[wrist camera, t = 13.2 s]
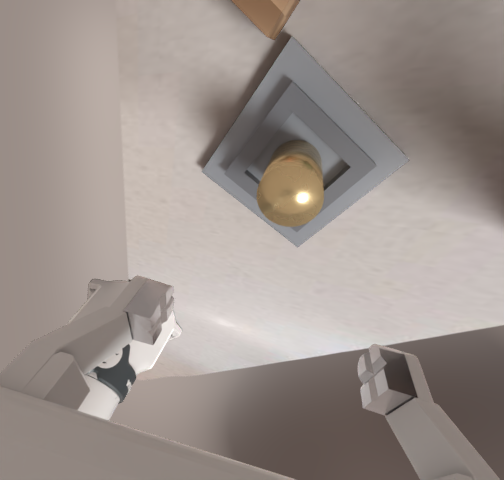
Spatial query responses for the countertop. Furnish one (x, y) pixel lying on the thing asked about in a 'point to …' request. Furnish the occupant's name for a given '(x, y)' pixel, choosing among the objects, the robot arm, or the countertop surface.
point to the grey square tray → (306, 129)
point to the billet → (292, 185)
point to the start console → (267, 14)
